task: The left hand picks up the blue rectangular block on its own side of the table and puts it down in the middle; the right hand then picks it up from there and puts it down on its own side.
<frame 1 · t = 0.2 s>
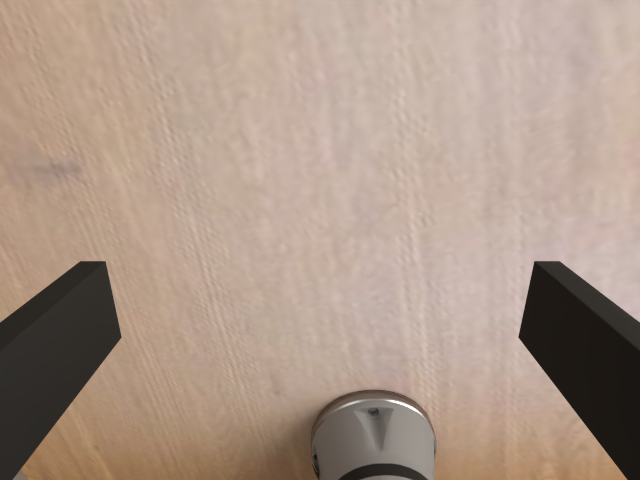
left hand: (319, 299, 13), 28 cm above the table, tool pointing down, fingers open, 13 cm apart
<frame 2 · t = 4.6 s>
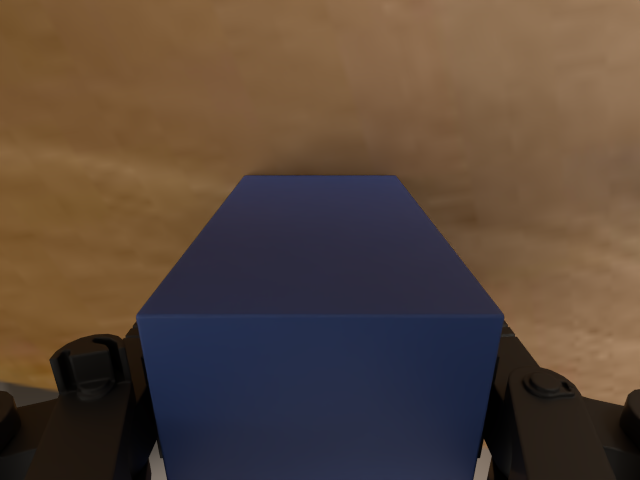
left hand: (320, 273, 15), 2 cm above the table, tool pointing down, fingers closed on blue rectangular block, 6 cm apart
blue rectangular block: (320, 254, 16), on the table, touching left hand
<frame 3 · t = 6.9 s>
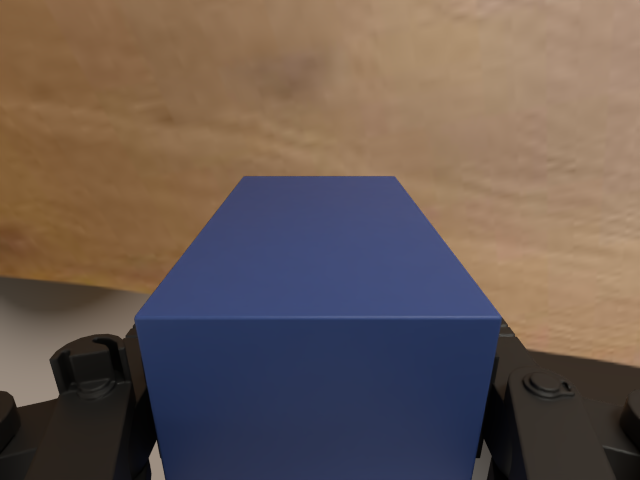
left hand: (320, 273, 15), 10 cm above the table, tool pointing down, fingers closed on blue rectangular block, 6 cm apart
blue rectangular block: (319, 254, 16), point 8 cm above the table, touching left hand
when the left hand's fingers open (3 cm above the table, at t = 9.5 s): blue rectangular block drops 1 cm, on the table.
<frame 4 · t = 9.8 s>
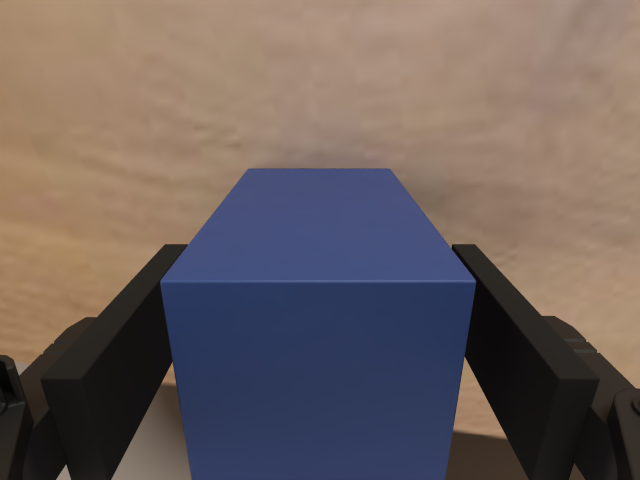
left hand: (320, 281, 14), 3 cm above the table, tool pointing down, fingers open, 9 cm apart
blue rectangular block: (319, 243, 17), on the table
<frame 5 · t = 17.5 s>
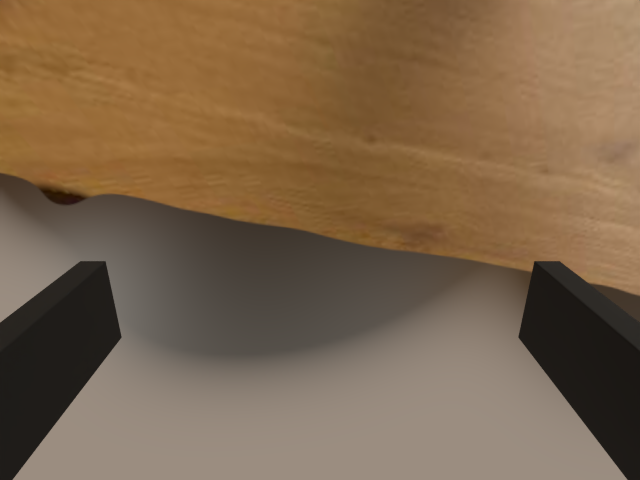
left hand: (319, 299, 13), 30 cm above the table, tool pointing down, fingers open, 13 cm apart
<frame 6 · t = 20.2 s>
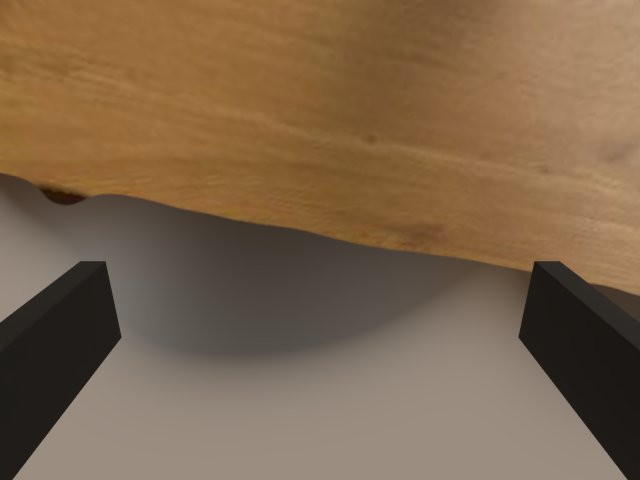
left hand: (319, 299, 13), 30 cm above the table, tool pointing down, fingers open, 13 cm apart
when the right hand's fingers open (3 cm above the table, at t = 22.8 s): blue rectangular block drops 1 cm, on the table.
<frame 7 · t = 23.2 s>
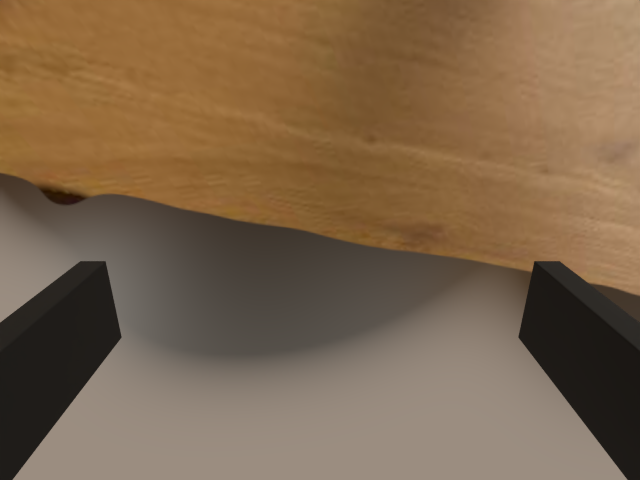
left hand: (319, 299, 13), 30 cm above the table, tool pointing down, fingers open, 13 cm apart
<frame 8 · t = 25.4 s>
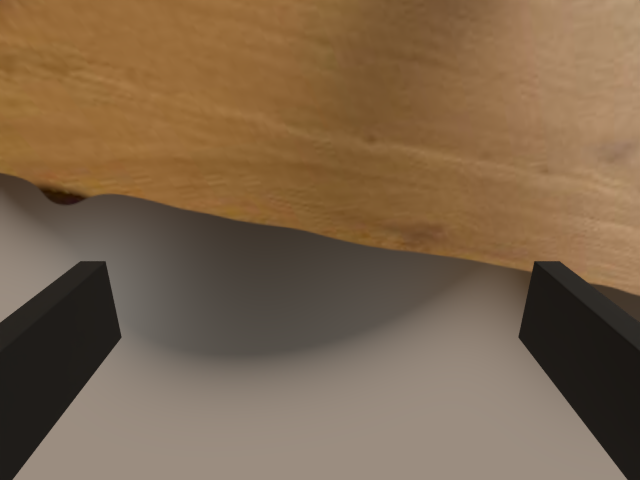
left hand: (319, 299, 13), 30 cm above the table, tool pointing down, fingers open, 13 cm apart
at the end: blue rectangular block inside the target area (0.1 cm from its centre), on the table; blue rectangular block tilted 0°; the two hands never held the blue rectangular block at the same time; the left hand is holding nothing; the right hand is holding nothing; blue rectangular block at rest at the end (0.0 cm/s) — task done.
